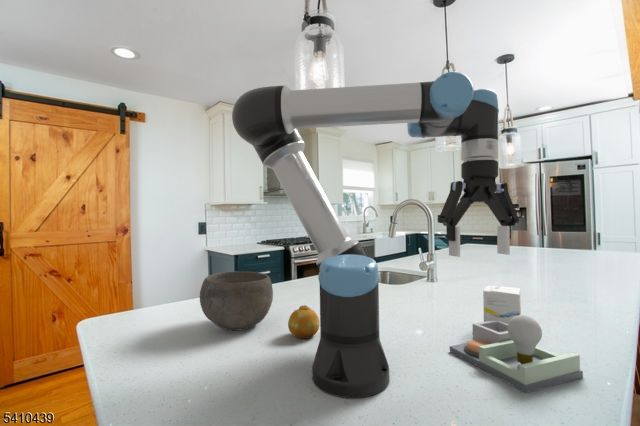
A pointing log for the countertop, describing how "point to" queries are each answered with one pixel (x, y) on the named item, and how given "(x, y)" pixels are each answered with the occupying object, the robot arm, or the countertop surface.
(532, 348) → the light bulb
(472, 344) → the checker pad
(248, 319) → the bowl
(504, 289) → the ink box
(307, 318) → the fruit
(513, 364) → the compartment tray
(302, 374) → the countertop surface
